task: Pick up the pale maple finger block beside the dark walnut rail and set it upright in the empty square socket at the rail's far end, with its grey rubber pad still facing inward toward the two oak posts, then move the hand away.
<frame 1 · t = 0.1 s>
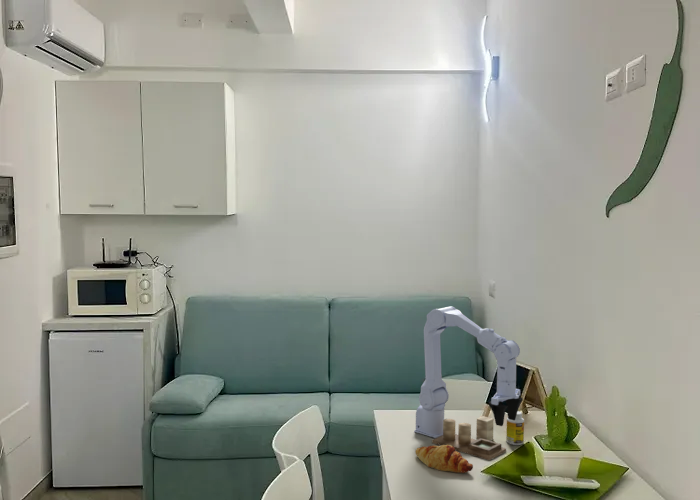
hand: (505, 422, 205), 10 cm above the table, tool pointing down, fingers open, 7 cm apart
croissant: (443, 466, 197), on the table
maple finger block: (484, 439, 219), on the table
supplement bottle: (514, 443, 215), on the table
walnut rail: (468, 447, 211), on the table
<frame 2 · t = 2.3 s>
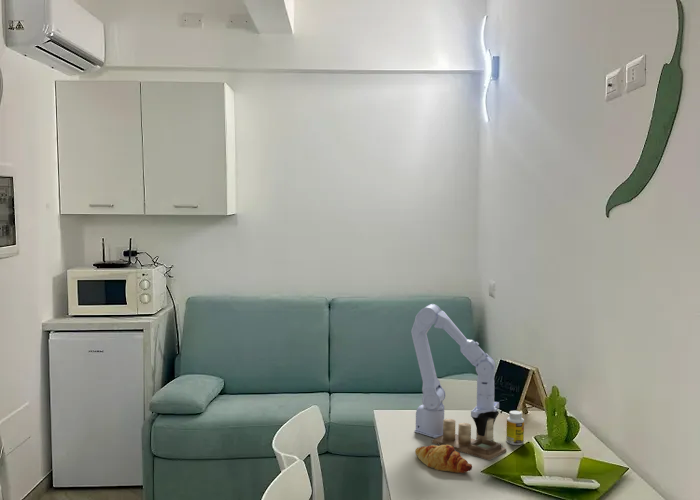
hand: (484, 433, 219), 2 cm above the table, tool pointing down, fingers closed on maple finger block, 4 cm apart
maple finger block: (484, 439, 219), on the table, touching gripper
everything else where it was.
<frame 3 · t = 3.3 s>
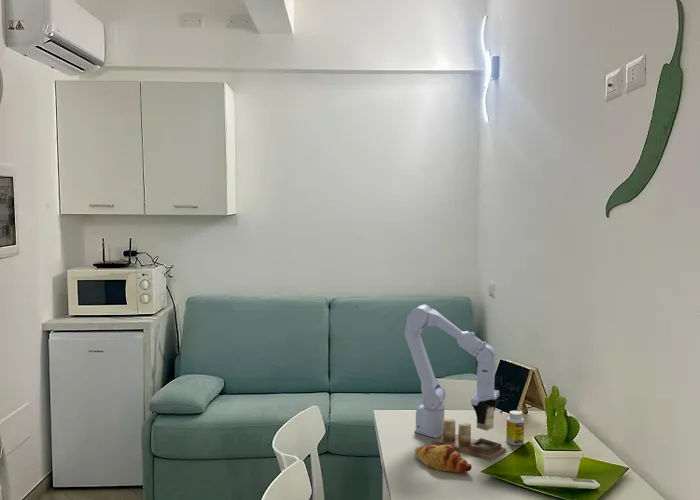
hand: (484, 421, 218), 6 cm above the table, tool pointing down, fingers closed on maple finger block, 4 cm apart
maple finger block: (485, 427, 218), point 4 cm above the table, touching gripper
everything else where it was.
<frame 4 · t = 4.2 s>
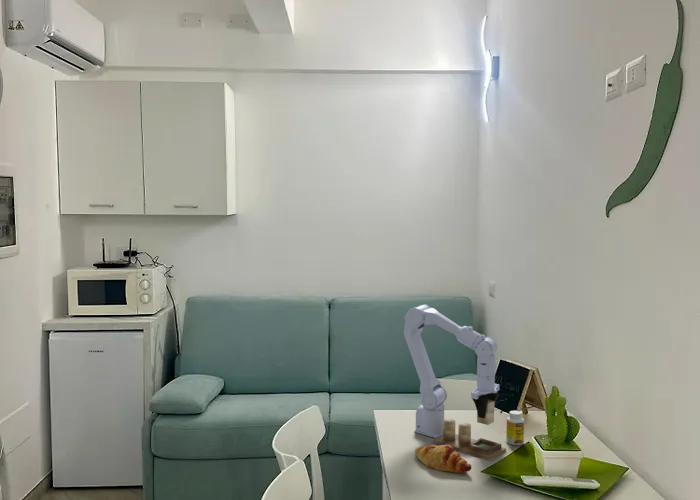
hand: (485, 415, 215), 9 cm above the table, tool pointing down, fingers closed on maple finger block, 4 cm apart
maple finger block: (485, 422, 215), point 7 cm above the table, touching gripper
everything else where it was.
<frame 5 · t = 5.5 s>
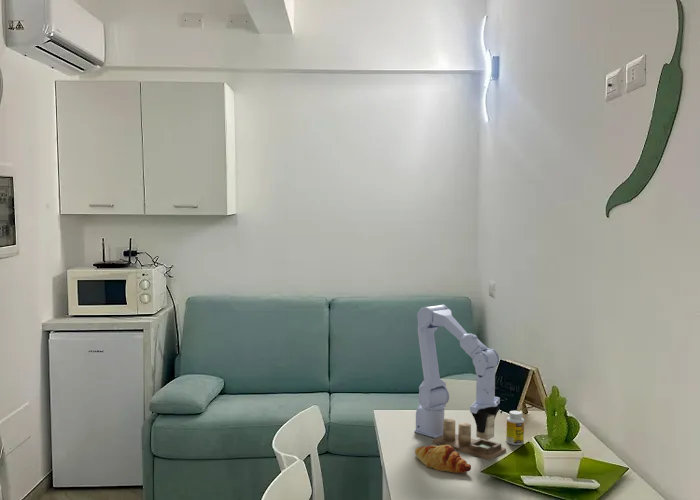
hand: (484, 430, 207), 7 cm above the table, tool pointing down, fingers closed on maple finger block, 4 cm apart
maple finger block: (485, 436, 207), point 5 cm above the table, touching gripper
everything else where it was.
when the fingers open (4 cm above the table, at t = 6.5 s): maple finger block stays where it is, resting on walnut rail.
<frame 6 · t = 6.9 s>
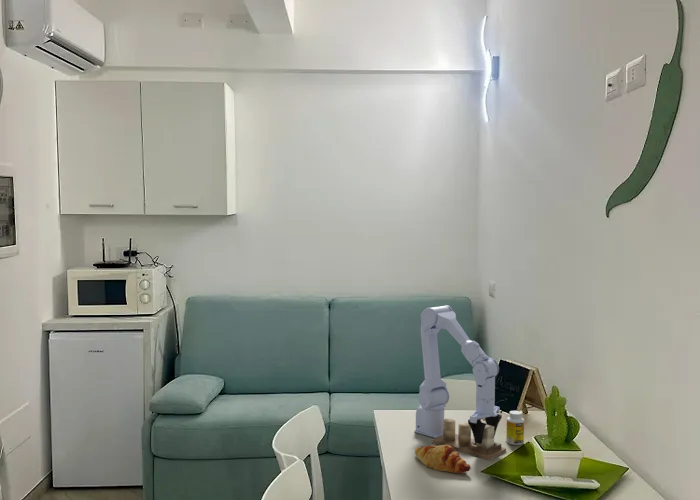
hand: (484, 439, 207), 4 cm above the table, tool pointing down, fingers open, 7 cm apart
maple finger block: (485, 447, 207), point 1 cm above the table, touching walnut rail
everything else where it was.
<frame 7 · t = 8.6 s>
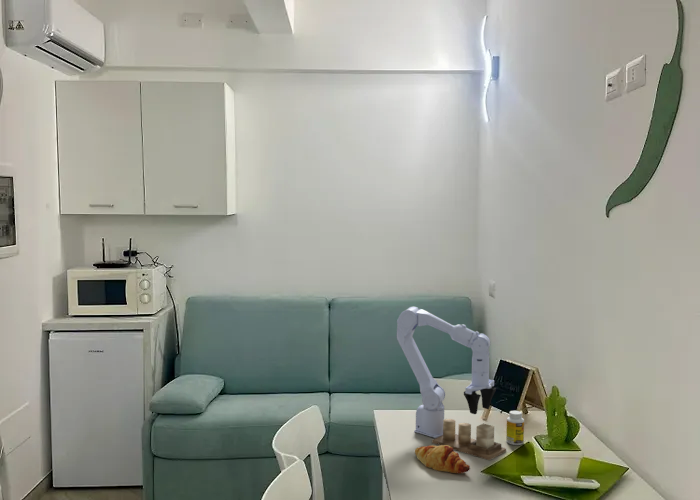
hand: (479, 410, 219), 9 cm above the table, tool pointing down, fingers open, 7 cm apart
nothing on the table moved.
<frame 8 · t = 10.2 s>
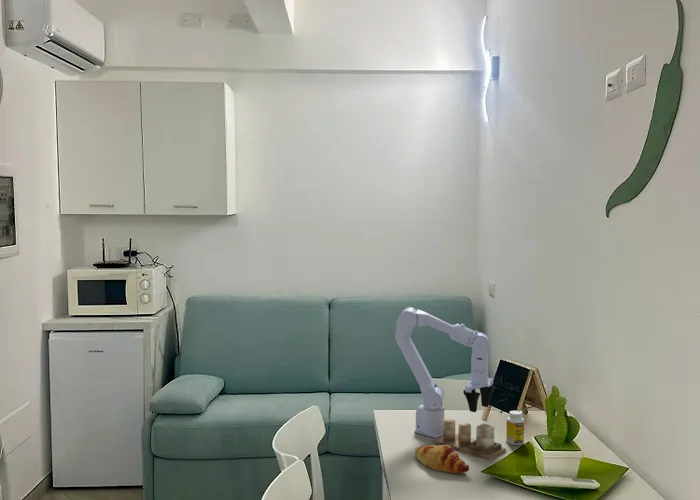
hand: (479, 409, 221), 9 cm above the table, tool pointing down, fingers open, 7 cm apart
nothing on the table moved.
at the end: maple finger block 0.2 cm from the target spot on the walnut rail, point 1.3 cm above the walnut rail's base; maple finger block tilted 0°; the gripper is holding nothing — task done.
